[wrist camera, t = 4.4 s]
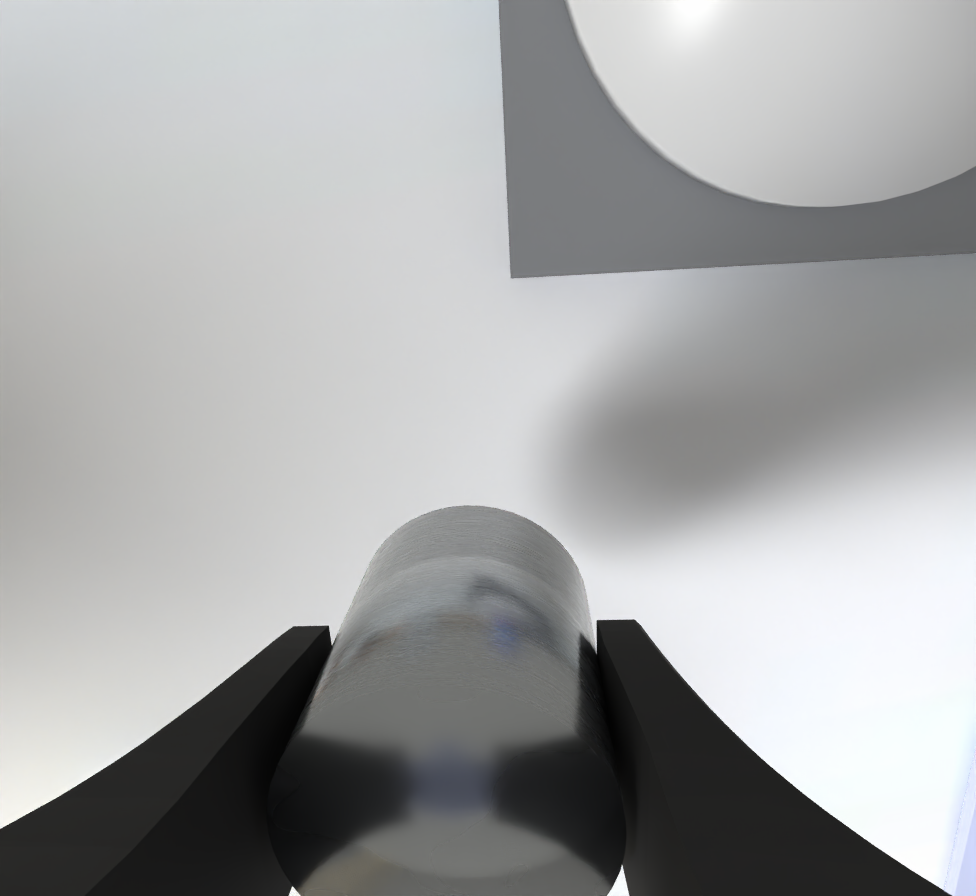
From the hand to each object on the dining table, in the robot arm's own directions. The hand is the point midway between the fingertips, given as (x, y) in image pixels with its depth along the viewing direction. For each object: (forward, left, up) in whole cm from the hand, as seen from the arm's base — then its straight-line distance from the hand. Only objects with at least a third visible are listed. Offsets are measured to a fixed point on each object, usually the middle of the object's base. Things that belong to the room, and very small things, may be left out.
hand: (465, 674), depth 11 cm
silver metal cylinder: (0, 0, -2) cm, 2 cm away
